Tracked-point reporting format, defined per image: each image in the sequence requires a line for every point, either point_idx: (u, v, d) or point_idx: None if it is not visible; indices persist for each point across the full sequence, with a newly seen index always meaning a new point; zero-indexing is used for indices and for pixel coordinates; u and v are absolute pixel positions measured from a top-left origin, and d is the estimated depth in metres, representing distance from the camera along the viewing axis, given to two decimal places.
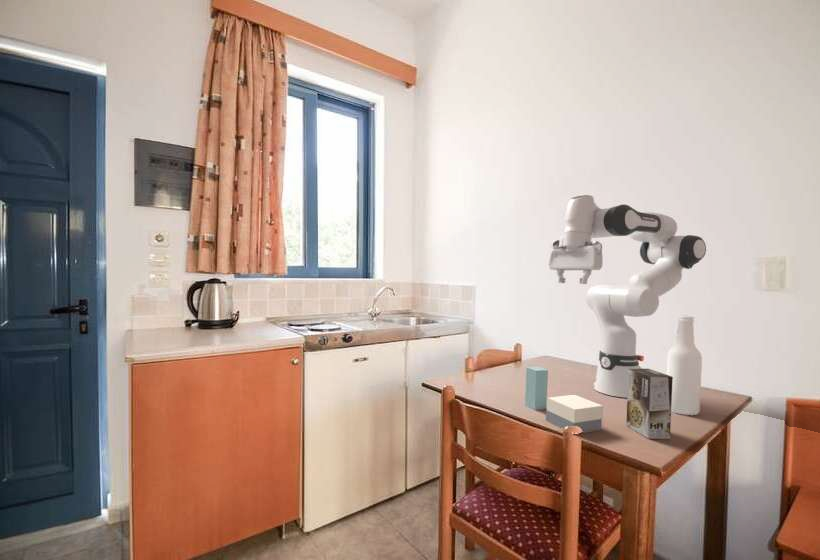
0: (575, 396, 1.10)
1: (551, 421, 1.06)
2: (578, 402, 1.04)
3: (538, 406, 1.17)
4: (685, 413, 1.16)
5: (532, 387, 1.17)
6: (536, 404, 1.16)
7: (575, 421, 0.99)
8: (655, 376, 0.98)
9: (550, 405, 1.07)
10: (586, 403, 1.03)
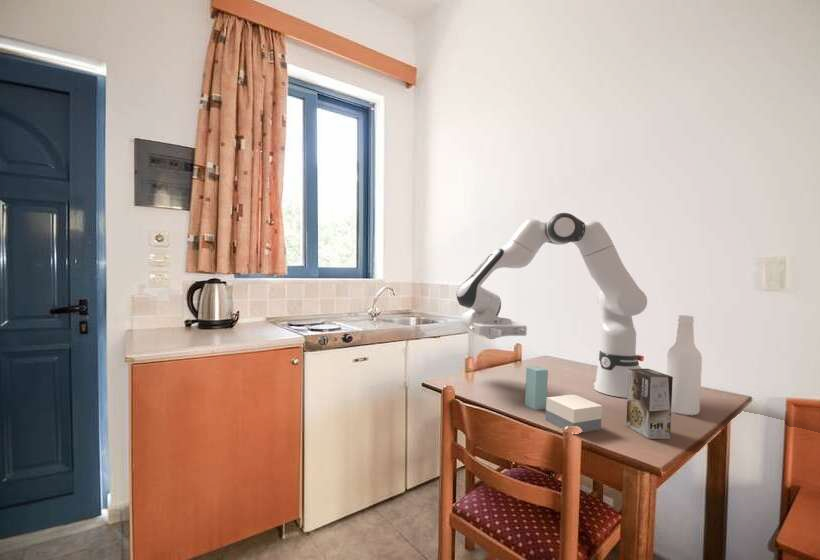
0: (574, 396, 1.10)
1: (551, 421, 1.06)
2: (578, 402, 1.04)
3: (538, 406, 1.17)
4: (685, 413, 1.16)
5: (532, 387, 1.17)
6: (536, 404, 1.16)
7: (574, 421, 0.99)
8: (655, 376, 0.98)
9: (549, 405, 1.06)
10: (586, 403, 1.03)
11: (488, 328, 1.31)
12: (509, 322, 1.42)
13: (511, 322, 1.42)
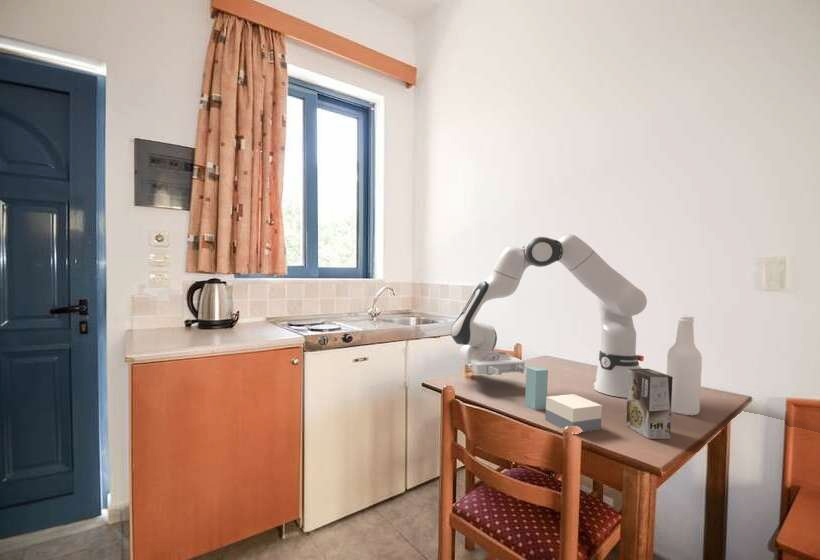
0: (574, 395, 1.10)
1: (551, 420, 1.06)
2: (577, 402, 1.04)
3: (538, 406, 1.17)
4: (685, 413, 1.16)
5: (532, 387, 1.17)
6: (536, 404, 1.16)
7: (574, 420, 0.99)
8: (655, 376, 0.98)
9: (549, 404, 1.07)
10: (586, 403, 1.04)
11: (486, 366, 1.32)
12: (507, 357, 1.42)
13: (509, 357, 1.43)
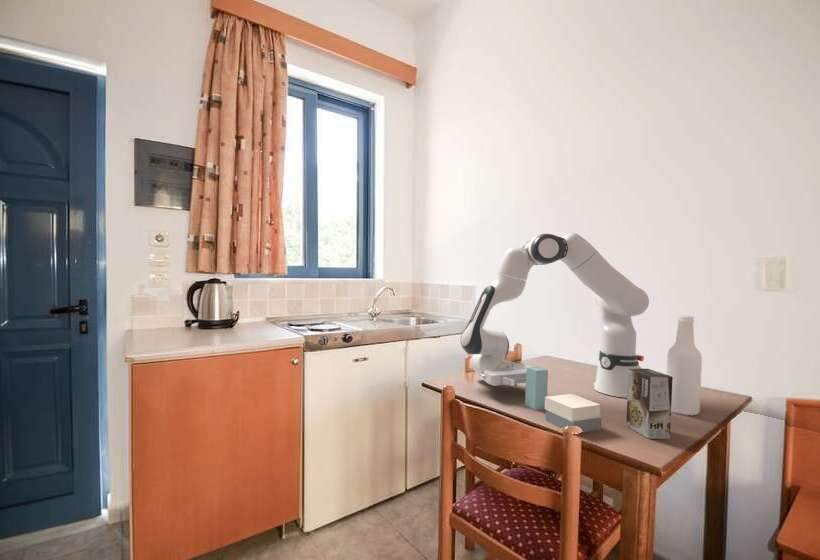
0: (572, 395, 1.10)
1: (551, 421, 1.06)
2: (576, 401, 1.05)
3: (538, 406, 1.17)
4: (685, 413, 1.16)
5: (532, 387, 1.17)
6: (536, 404, 1.16)
7: (573, 420, 0.99)
8: (655, 376, 0.98)
9: (548, 404, 1.07)
10: (584, 402, 1.04)
11: (500, 377, 1.25)
12: (522, 366, 1.35)
13: (524, 366, 1.36)
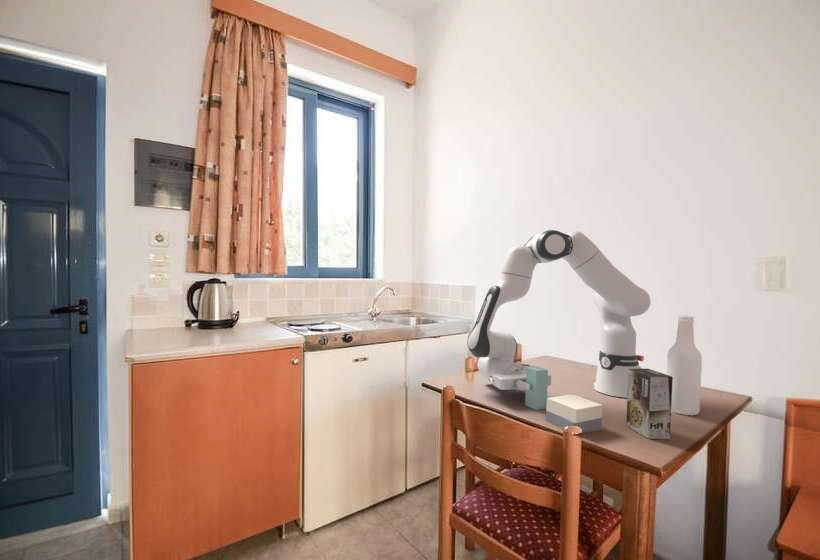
0: (573, 396, 1.10)
1: (551, 421, 1.06)
2: (578, 402, 1.04)
3: (538, 406, 1.17)
4: (685, 413, 1.16)
5: (532, 387, 1.17)
6: (536, 404, 1.16)
7: (577, 421, 0.99)
8: (655, 376, 0.98)
9: (550, 405, 1.06)
10: (586, 403, 1.04)
11: (510, 381, 1.20)
12: None
13: None
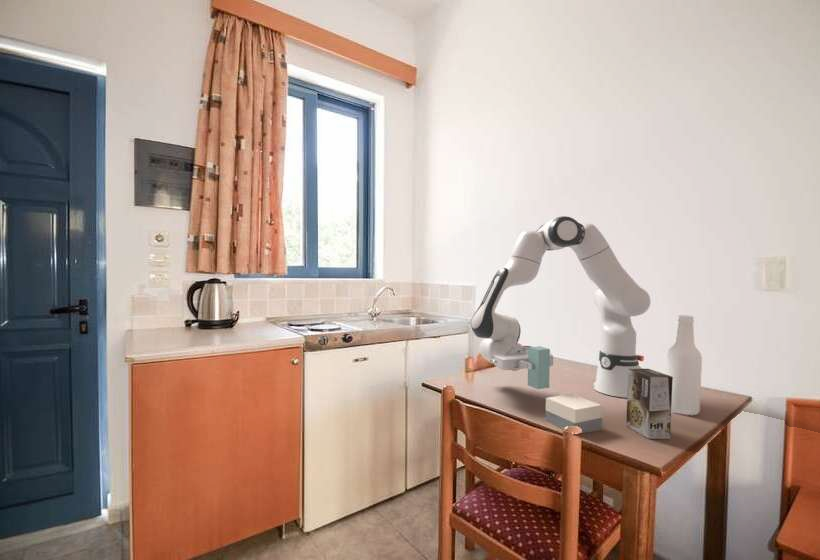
0: (572, 395, 1.10)
1: (551, 421, 1.06)
2: (577, 402, 1.04)
3: (541, 385, 1.17)
4: (685, 413, 1.16)
5: None
6: (538, 383, 1.16)
7: (576, 421, 0.99)
8: (655, 376, 0.98)
9: (549, 405, 1.06)
10: (585, 403, 1.04)
11: (512, 361, 1.20)
12: None
13: None
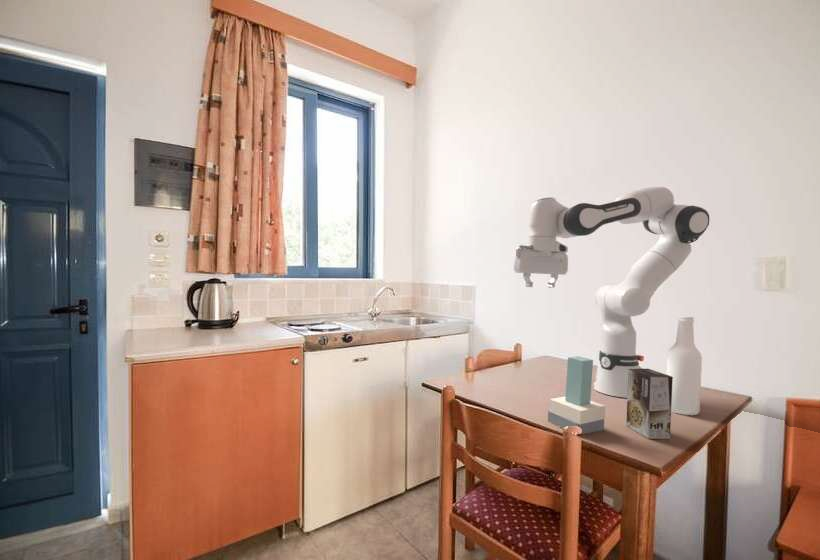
0: None
1: (553, 422, 1.05)
2: None
3: (583, 401, 1.02)
4: (685, 413, 1.16)
5: (576, 380, 1.03)
6: (581, 399, 1.02)
7: (581, 422, 0.98)
8: (655, 376, 0.98)
9: (553, 406, 1.05)
10: (589, 404, 1.03)
11: (525, 272, 1.25)
12: (560, 256, 1.29)
13: (562, 256, 1.29)
